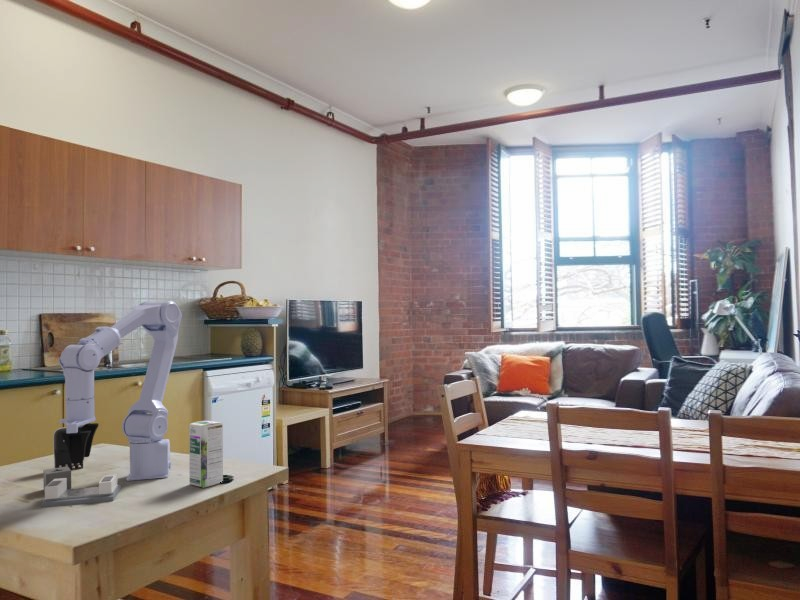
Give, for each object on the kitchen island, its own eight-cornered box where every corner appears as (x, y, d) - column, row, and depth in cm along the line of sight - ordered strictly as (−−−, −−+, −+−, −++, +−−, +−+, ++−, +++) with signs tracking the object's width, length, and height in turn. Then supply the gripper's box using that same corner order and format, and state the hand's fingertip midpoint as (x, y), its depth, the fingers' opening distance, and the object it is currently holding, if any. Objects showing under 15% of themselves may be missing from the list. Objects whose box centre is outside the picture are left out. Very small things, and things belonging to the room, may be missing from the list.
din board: (120, 489, 139) (120, 483, 139) (113, 501, 130) (113, 494, 130) (53, 495, 135) (53, 489, 135) (40, 508, 127) (40, 501, 127)
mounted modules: (117, 484, 138) (117, 472, 138) (111, 493, 131) (111, 481, 131) (54, 490, 135) (54, 478, 135) (44, 499, 128) (44, 486, 128)
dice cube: (46, 496, 135) (46, 474, 135) (43, 491, 139) (43, 469, 139) (71, 492, 138) (71, 470, 138) (68, 487, 142) (67, 466, 142)
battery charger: (56, 475, 153) (55, 430, 153) (52, 472, 156) (52, 428, 156) (86, 470, 157) (85, 426, 158) (82, 467, 160) (82, 424, 160)
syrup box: (188, 484, 142) (187, 423, 142) (209, 478, 147) (208, 419, 147) (203, 488, 139) (202, 425, 139) (224, 482, 143) (223, 421, 144)
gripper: (69, 395, 140) (69, 454, 139) (50, 404, 126) (50, 469, 125) (102, 393, 141) (102, 451, 141) (87, 402, 127) (87, 466, 127)
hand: (80, 460), depth 133 cm, fingers open, 5 cm apart
